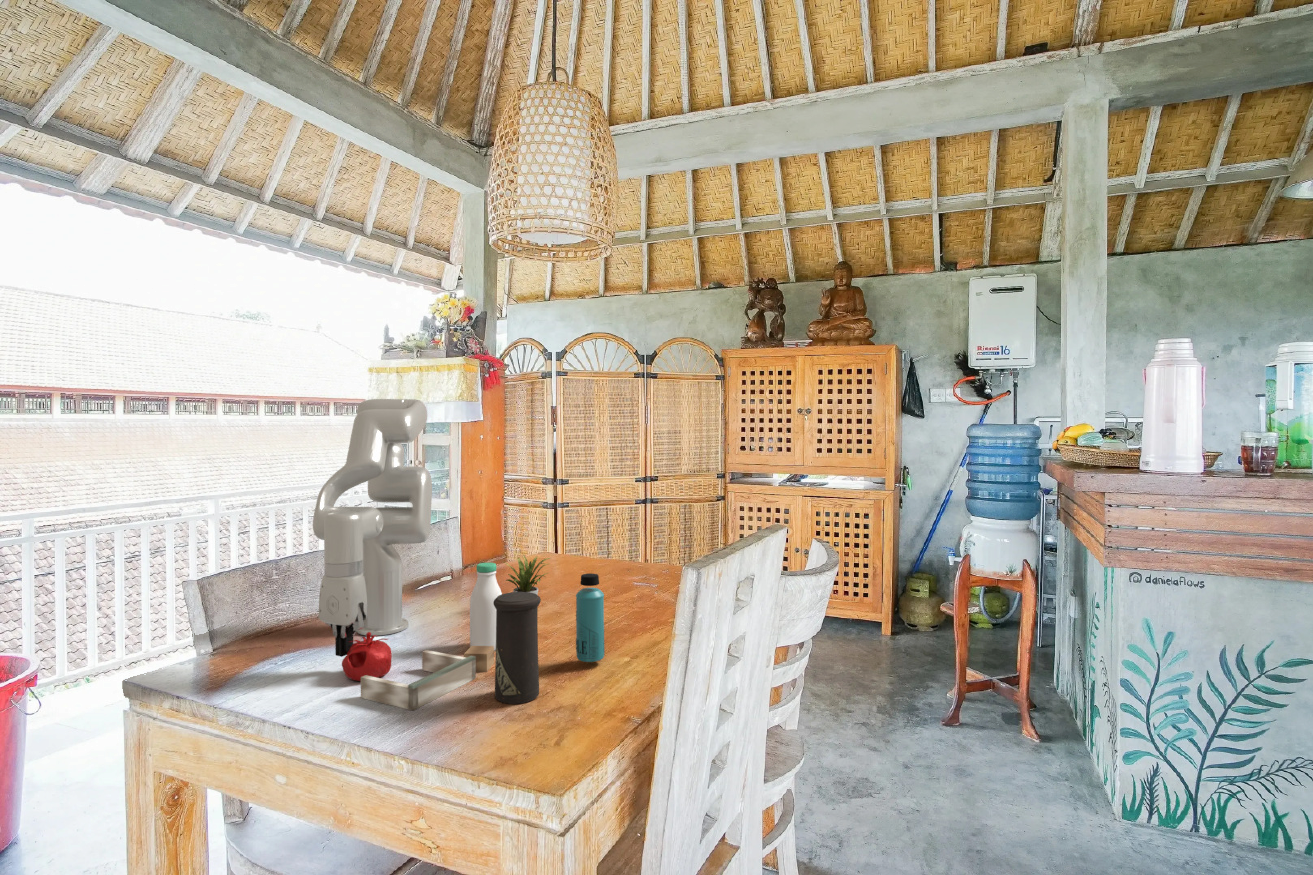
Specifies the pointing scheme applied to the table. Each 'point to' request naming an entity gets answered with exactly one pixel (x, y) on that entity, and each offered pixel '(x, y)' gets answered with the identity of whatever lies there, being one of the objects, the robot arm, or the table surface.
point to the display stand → (422, 681)
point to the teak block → (482, 657)
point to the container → (516, 647)
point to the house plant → (526, 576)
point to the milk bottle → (484, 606)
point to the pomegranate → (367, 658)
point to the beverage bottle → (590, 620)
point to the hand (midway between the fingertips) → (344, 653)
